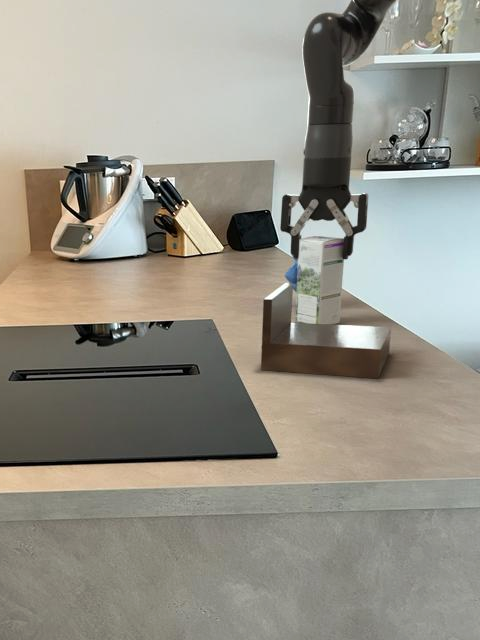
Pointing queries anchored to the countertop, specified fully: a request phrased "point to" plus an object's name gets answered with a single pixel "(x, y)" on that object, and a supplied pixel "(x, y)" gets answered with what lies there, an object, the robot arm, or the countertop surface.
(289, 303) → the metal l-shaped bookend
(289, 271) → the grapes
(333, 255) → the syrup box
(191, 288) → the countertop surface
